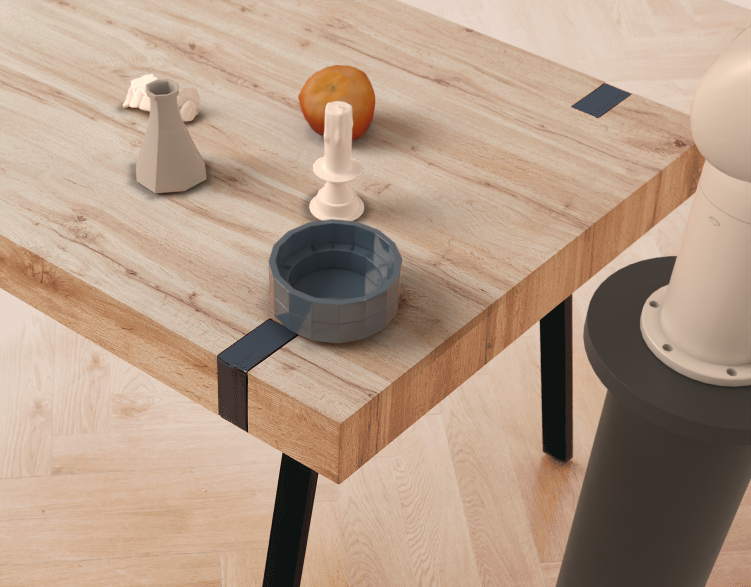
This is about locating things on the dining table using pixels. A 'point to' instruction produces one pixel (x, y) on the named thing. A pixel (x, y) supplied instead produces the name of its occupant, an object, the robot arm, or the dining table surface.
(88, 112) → the dining table surface
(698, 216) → the robot arm
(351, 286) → the bowl
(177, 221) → the dining table surface
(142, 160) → the flask
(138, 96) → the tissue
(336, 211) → the candle
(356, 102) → the fruit
